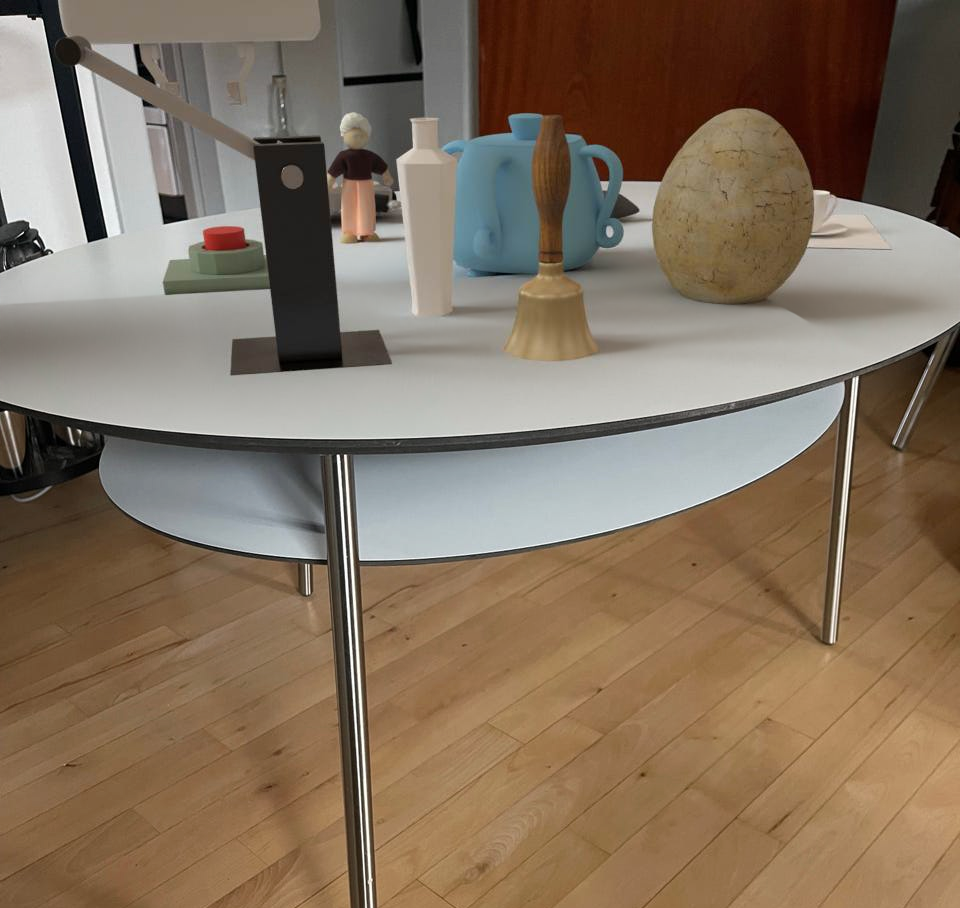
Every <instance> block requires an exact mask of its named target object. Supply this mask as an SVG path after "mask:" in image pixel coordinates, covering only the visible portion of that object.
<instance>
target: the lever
mask: <svg viewBox="0 0 960 908" xmlns="http://www.w3.org/2000/svg"><path fill="white" fill-rule="evenodd" d="M54 55H55V57H56V58H57V60H58V61H59V62H60V63H61V64H62V65H64V66H67V67H74V66H78V65H80V66H82V67H83V68H85V69H87V70H89V71H91V72H92V73H95V75H98V76H100V77H102V78H103V79H105V80H107V81H109V82H111V83H112V84H114V85H116V86H118V87H120V88H122V89H123V90H125V91H127V92H128V93H131V94H132V95H134V96H136V97H138V98H139V99H141V100H143V101H145V102H147V103H148V104H151V105H153V106H154V107H156V108H158V109H159V110H162V111H163V112H165V113H167V114H169V115H170V116H172V117H174V118H176V119H177V120H179V121H181V122H184V123H185V124H187V125H189V126H190V127H193V128H194V129H196V130H198V131H199V132H202V133H203V134H205V135H206V136H209V137H210V138H213V139H214V140H215V141H218V142H219V143H221V144H223V145H225V146H227V147H229V148H230V149H232V150H234V151H236V152H238V153H239V154H242V155H243V156H245V157H247V158H248V159H250V160H252V161H254V162H255V157H254V149H253V145H254V144H260V143H258V142H256V141H254V140H253V138H251V137H249V136H247V135H245V134H244V133H242V132H240V131H238V130H236V129H234V128H233V127H231V126H230V125H228V124H226V123H224V122H222V121H221V120H219V119H217V118H215V117H213V116H211V115H210V114H208V113H206V112H204V111H202V110H201V109H200V108H197V107H195V106H194V105H192V104H190V103H189V102H186V101H184V100H183V99H182V98H181V99H182V100H181V99H179V98H177V97H176V96H174V95H172V94H170V93H168V92H167V91H165V90H163V89H161V88H160V86H158V85H156V84H154V83H152V82H150V81H149V80H147V79H145V78H144V77H142V76H140V75H138V74H136V73H135V72H133V71H131V70H129V69H127V68H126V67H124V66H122V65H120V64H119V63H116V62H115V61H113V60H111V59H109V58H108V57H106V56H104V55H102V54H101V53H98V52H97V51H95V50H94V49H93V48H92V45H90V43H89V42H88V40H87V39H85V38H84V37H82V36H72V37H67V36H66V37H61V38H59V39H58V40H56V43H55V45H54ZM277 143H283V142H281V141H277Z"/></svg>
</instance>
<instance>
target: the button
mask: <svg viewBox="0 0 960 908" xmlns="http://www.w3.org/2000/svg"><path fill="white" fill-rule="evenodd" d="M202 235H203V242H204V243H205V250H212V251H227V250H236V249H242V248H246V240H245V239H246V234H245V228H244V227H241V226H235V225H225V226H223V225H221V226H213V227H207V228H205V229H203V230H202Z"/></svg>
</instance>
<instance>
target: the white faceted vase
mask: <svg viewBox="0 0 960 908" xmlns="http://www.w3.org/2000/svg"><path fill="white" fill-rule="evenodd" d="M409 121H410V122H411V135H412V148H411V149H409V150H407V151H406V152H405V153H403V154H402V155H400V156H399V157H397V158H396V159H395V160H396V168H397V170H396V171H397V177H398V178H397V179H398V186H399V196H400V202H401V206H402V207H401V215H402V222H403V223H402V224H403V232H404V241H405V242H404V243H405V250H406V251H405V252H406V257H407V267H408V277H409V284H410V292H411V302H412V303H411V304H412V307H411V312H412V313H413V314H414V315H415V316H416V317H444V316H446V315H448V314H450V313H451V312H453V305H452V298H453V272H454V260H453V250H454V224H455V199H456V173H457V166H458V158H456V157H454V156H453V155H452V154H451V155H450V154H448V153H446V152H445V151H443V150H441V149H442V148H440V147H439V136H438V135H439V132H438V122H439V121H440V118H439V117H413V118H409Z"/></svg>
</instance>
